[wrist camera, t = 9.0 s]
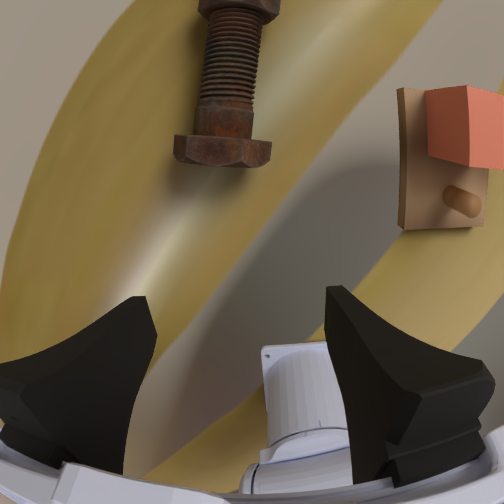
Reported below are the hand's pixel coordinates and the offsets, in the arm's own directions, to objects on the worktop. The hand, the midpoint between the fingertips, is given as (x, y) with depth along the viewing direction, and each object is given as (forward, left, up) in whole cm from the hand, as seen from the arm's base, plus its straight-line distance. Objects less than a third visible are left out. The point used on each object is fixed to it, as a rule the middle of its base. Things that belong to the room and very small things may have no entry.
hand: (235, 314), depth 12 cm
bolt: (+12, 0, -11) cm, 16 cm away
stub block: (+5, -15, -10) cm, 19 cm away
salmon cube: (+7, -15, -9) cm, 19 cm away
